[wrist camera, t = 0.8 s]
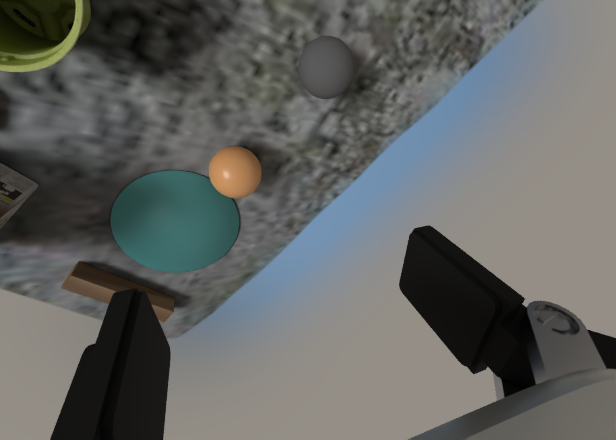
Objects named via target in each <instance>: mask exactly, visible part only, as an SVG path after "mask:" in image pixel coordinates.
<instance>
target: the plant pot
mask: <svg viewBox="0 0 616 440" xmlns="http://www.w3.org/2000/svg"><path fill="white" fill-rule="evenodd" d="M14 9H17V10H18V11H19V12H20V13H22V14H23V15H24V16H25V17H26V18H28V19H29V20H30V21H32V22H33V23H35V25H36V26H31V25H29V24H28V23H27V22H25V21H24V20H22V19H20V18H19V17H18V16H17V15H16V14H15V13H14ZM90 17H91V7H90V1H89V0H0V70H1V71H9V72H29V71H35V70H40V69H43V68H46V67H49V66H51V65H53V64H55V63H57V62H58V61H60V60H61V59H63V58H64V57H65V56H66V55H67V54H68V53H69V52H70V51H71V50H72V48H73V47H74V46H75V44H76V42H77V40H78V38H79V36H80V35H82V34H83V32H84V31H85V30H86V28H87V27H88V24H89V22H90ZM73 21H74V24H73V27H72V29H69V27H68V26H69V25H70V24H71V23H72V22H73Z"/></svg>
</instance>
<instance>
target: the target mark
mask: <svg viewBox="0 0 616 440" xmlns="http://www.w3.org/2000/svg"><path fill="white" fill-rule="evenodd" d="M111 229H112V233H113V236H114V238H115V240H116V242H117V244H118V245H119V246H120V248H121V249H122V250H123V251H124V252H125V253H126V254H127V255H128V256H129V257H131V258H132V259H133V260H135V261H136V262H138V263H140V264H142V265H144V266H146V267H149V268H152V269H155V270H159V271H165V272H188V271H194V270H197V269H201V268H204V267H206V266H209V265H210V264H212V263H214V262H216V261H217V260H219V259H220V258H221V257H223V256H224V255H225V254H226V253H227V252H228V251H229V249H230V248H231V247H232V245H233V244H234V242H235V240H236V237H237V235H238V230H239V215H238V211H237V208H236V206H235V203H234V201H233V200H232V198H230V197H227V196H225V195H223V194H221V193H220V192H218V191H217V190H216V189H215V187H214V186H213V185H212V183H211V181H210V179H209V178H207V177H205V176H202V175H200V174H196V173H193V172H188V171H181V170H167V171H159V172H154V173H151V174H148V175H145V176H143V177H141V178H138V179H137V180H135V181H133V182H132V183H130V184H129V185H128V186H127V187H126V188H125V189H124V190H123V191H122V192H121V193H120V194H119V196H118V197H117V199H116V201H115V203H114V205H113V208H112V211H111Z"/></svg>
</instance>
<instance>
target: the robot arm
mask: <svg viewBox="0 0 616 440" xmlns="http://www.w3.org/2000/svg"><path fill="white" fill-rule="evenodd" d="M399 286H400V290H401V291H402V293H403V294H404V295H405V297H406V298H407V299H408V300H409V301H410V303H411V304H412V305H413V306H414V308H415V309H416V310H417V311H418V312H419V314H420V315H421V316H422V317H423V318H424V320H425V321H426V322H427V323H428V324H429V326H430V327H431V328H432V329H433V331H434V332H435V333H436V334H437V335H438V337H439V338H440V339H441V340H442V341H443V343H444V344H445V345H446V346H447V347H448V349H449V350H450V351H451V352H452V353H453V355H454V356H455V357H456V358H457V359H458V361H459V362H460V363H461V364H462V365H464V366H467V367H468V368H469V369H470V371H471V372H472V373H473V374H475V373H478V372H481V371H483V370H486V368H487V367H489V368H490V369H491V371H492V372H493V376H494V383H495V390H496V396H497V401H496V402H494V403H491V404H489V405H487V406H484V407H482V408H480V409H477V410H475V411H473V412H470V413H468V414H466V415H463V416H461V417H459V418H456V419H454V420H452V421H449V422H447V423H445V424H442V425H440V426H438V427H436V428H433V429H431V430H429V431H426V432H424V433H422V434H420V435H417V436H415V437H413V438H410V439H408V440H616V338H613V337H610V336H606V335H603V334H600V333H597V332H593V331H590V330H587V329H586V327H585V325H584V324H583V323H582V321H581V320H580V319H579V318H578V317H577V316H576V315H575V314H573V313H572V312H570V311H569V310H567V309H565V308H563V307H561V306H559V305H557V304H554V303H551V302H546V301H533V302H531V303H529V305H528V306H527V308H526V307H525V306H524V305H522V303H523V302H524V300H525V299H524V297H522V296H521V295H520V294H518V293H517V292H516V291H515V290H513V289H512V288H511V287H509V286H508V285H507V284H505V283H504V282H503V281H502V280H500V279H499V278H497V277H496V276H495V275H494V274H492V273H491V272H490V271H489V270H487V269H486V268H485V267H483V266H482V265H481V264H480V263H478V262H477V261H476V260H474V259H473V258H472V257H471V256H469V255H468V254H466V253H465V252H464V251H463V250H461V249H460V248H459V247H458V246H456V245H455V244H454V243H452V242H451V241H450V240H448V239H447V238H446V237H445V236H443V235H442V234H441V233H439V232H438V231H437V230H435V229H434V228H433V227H431V226H423V227H419V228H415V229H414V230H413V232H412V233H411V234H410V236H409V240H408V245H407V250H406V255H405V259H404V264H403V268H402V273H401V278H400V283H399ZM169 368H170V347H169V344H168V342H167V339H166V337H165V335H164V332H163V330H162V328H161V325H160V323H159V321H158V318H157V316H156V314H155V312H154V309H153V307H152V305H151V302H150V300H149V298H148V296H147V293H146V292H145V291H142V292H139V290H138V289H137V288H133V289H128V290H123V291H119V292H115V293H113V295H112V297H111V300H110V303H109V306H108V309H107V312H106V315H105V318H104V320H103V323H102V326H101V329H100V332H99V335H98V338H97V341H96V343H95V344H92V345H89V346H88V347H87V348H86V349H85V350H84V352H83V354H82V356H81V359H80V362H79V364H78V367H77V370H76V373H75V375H74V378H73V380H72V383H71V386H70V389H69V391H68V394H67V396H66V399H65V402H64V404H63V407H62V409H61V413H60V415H59V418H58V420H57V423H56V426H55V428H54V431H53V434H52V436H51V439H50V440H163V434H164V423H165V412H166V401H167V389H168V379H169Z"/></svg>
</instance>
